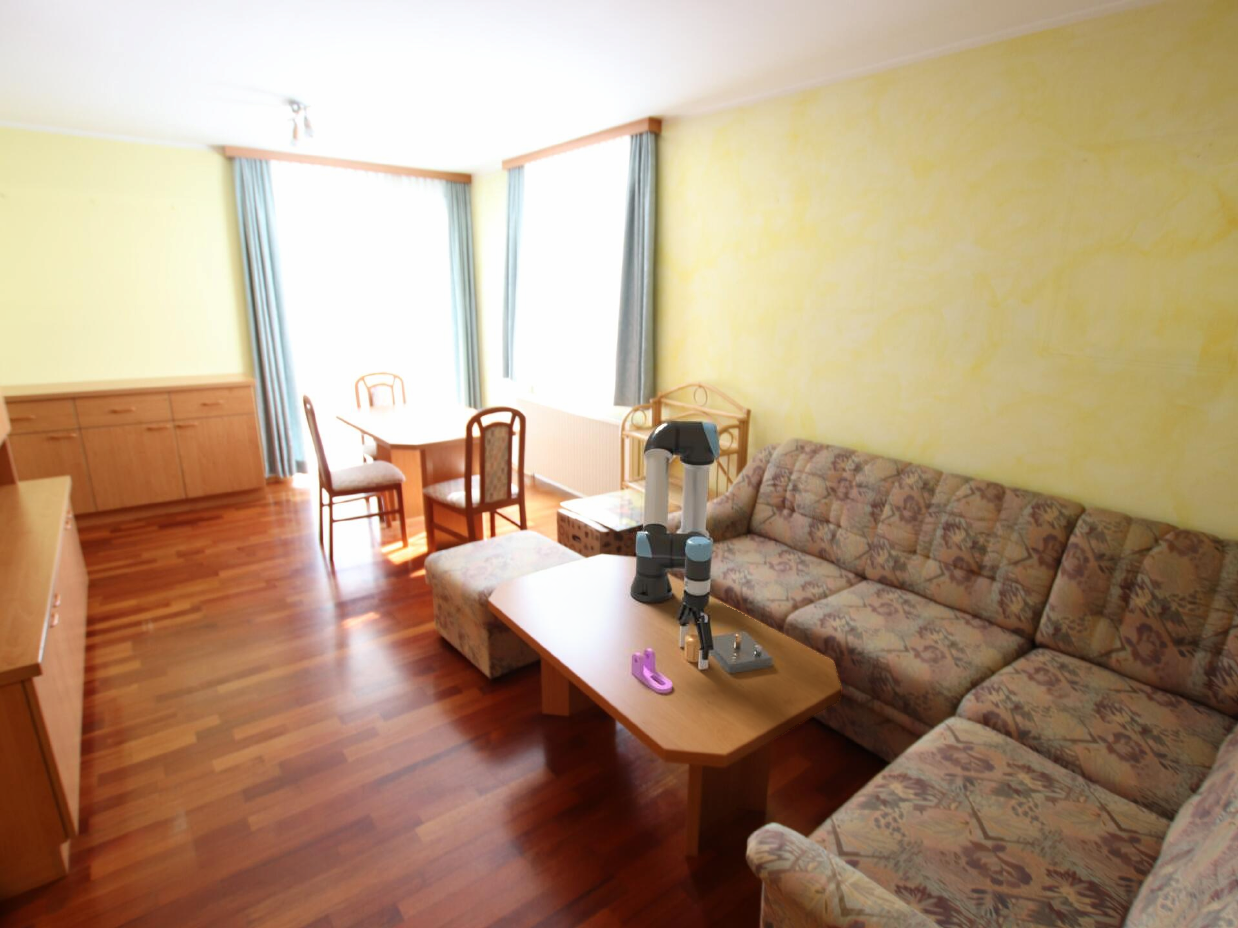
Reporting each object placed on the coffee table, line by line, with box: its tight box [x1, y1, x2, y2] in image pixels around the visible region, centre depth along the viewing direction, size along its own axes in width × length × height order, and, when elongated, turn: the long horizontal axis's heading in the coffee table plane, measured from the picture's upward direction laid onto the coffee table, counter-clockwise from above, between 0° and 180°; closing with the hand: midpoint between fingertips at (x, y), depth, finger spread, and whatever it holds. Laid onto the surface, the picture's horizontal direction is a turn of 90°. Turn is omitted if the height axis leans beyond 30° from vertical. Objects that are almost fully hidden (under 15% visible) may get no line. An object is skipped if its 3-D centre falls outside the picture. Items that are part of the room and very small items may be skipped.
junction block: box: [709, 630, 773, 675], centre depth 193 cm, size 16×14×7 cm
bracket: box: [631, 647, 673, 694], centre depth 180 cm, size 13×6×7 cm, turn 36°
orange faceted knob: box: [683, 633, 701, 663], centre depth 192 cm, size 5×5×6 cm
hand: (693, 656), depth 193 cm, fingers open, 13 cm apart
